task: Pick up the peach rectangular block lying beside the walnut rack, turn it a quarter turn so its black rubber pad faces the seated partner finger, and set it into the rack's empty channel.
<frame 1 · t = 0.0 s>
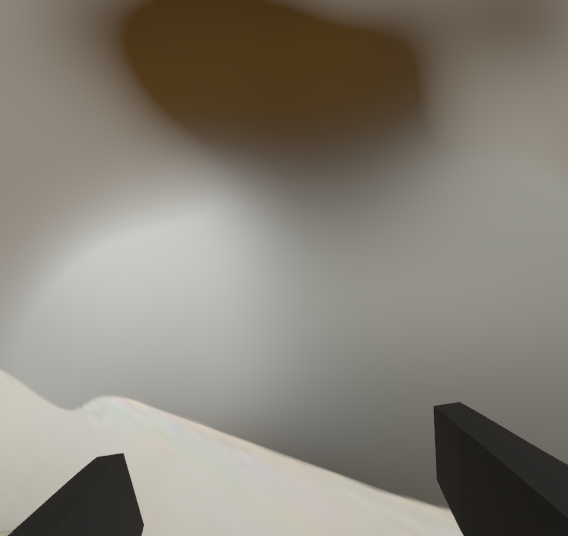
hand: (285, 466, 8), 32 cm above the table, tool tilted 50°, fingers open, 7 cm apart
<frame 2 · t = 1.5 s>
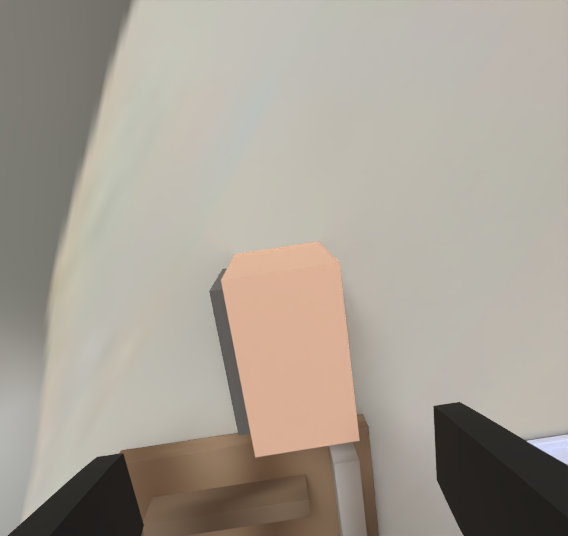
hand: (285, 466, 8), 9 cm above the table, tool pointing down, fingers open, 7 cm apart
peach rectangular block: (287, 316, 17), on the table
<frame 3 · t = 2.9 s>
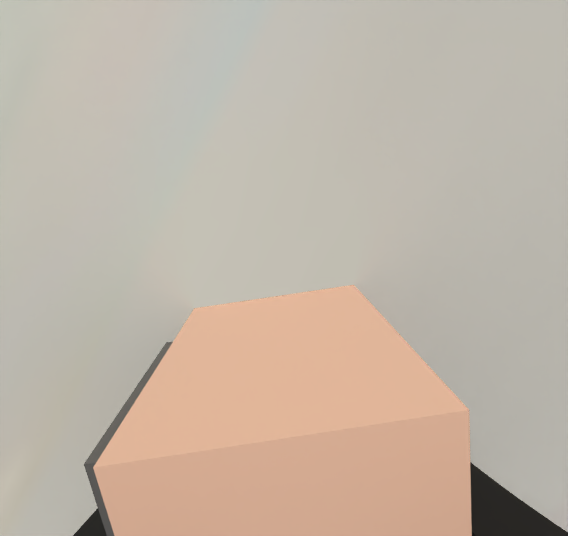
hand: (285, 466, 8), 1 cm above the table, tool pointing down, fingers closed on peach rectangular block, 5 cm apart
peach rectangular block: (292, 418, 9), on the table, touching gripper
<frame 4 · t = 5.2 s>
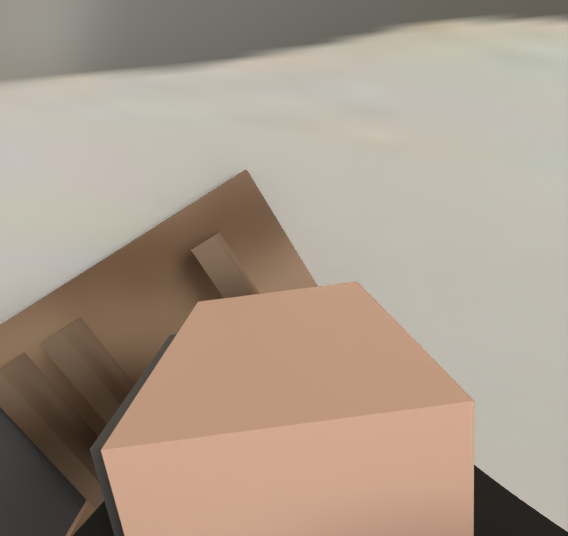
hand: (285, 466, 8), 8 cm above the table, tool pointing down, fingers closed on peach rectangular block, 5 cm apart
peach rectangular block: (293, 414, 9), point 7 cm above the table, touching gripper
seated finger: (10, 464, 16), resting on walnut rack
walnut rack: (128, 409, 17), on the table
when the fingers open (4 cm above the table, at t = 7.3 s): peach rectangular block drops 1 cm, resting on walnut rack.
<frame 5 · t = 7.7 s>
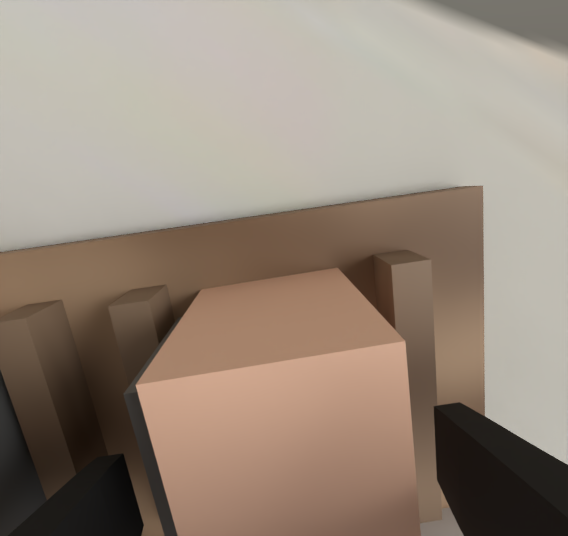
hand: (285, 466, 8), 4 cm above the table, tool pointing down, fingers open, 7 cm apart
peach rectangular block: (287, 385, 11), point 1 cm above the table, touching walnut rack
walnut rack: (155, 421, 12), on the table
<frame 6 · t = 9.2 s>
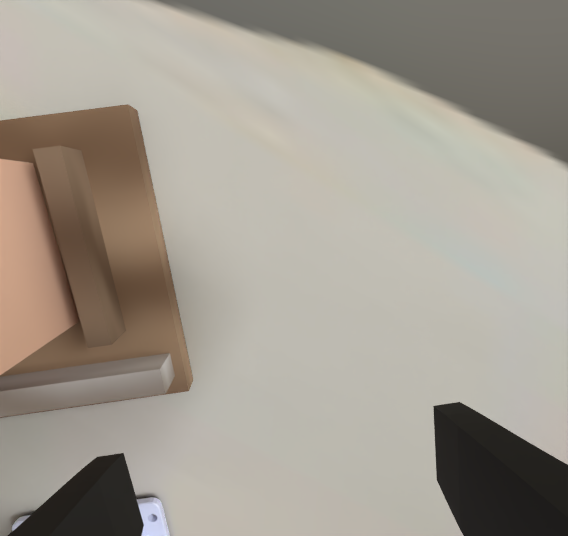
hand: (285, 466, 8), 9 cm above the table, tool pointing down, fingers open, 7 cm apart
peach rectangular block: (11, 253, 15), point 1 cm above the table, touching walnut rack
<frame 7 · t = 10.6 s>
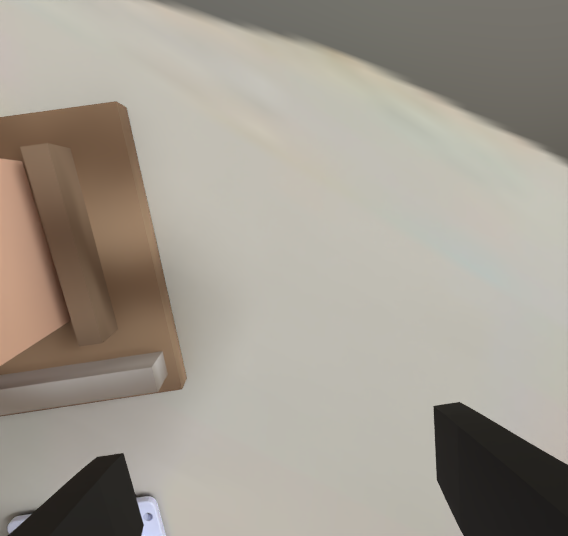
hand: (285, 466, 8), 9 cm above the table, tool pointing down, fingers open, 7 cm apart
peach rectangular block: (2, 252, 15), point 1 cm above the table, touching walnut rack
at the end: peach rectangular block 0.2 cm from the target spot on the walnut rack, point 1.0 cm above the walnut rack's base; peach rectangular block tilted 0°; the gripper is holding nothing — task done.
